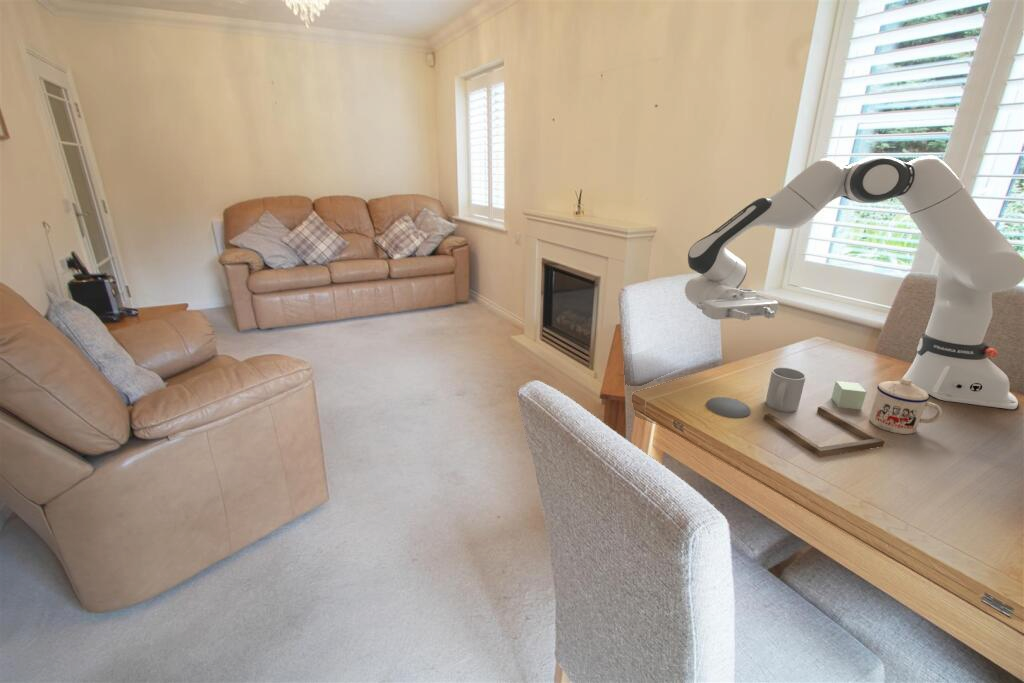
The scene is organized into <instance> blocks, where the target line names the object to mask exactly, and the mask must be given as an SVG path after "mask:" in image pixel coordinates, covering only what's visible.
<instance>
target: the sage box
mask: <svg viewBox="0 0 1024 683" xmlns="http://www.w3.org/2000/svg"><path fill="white" fill-rule="evenodd" d="M866 395H867V391H866V390H865V388H864V387H863V386H862V385H861V384H860V383H859V382H851V381H841V380H839V381H838V380H836V381H835V383H834V386H833V391H832V395H831V397H830V398H831V400H832V399H833V400H832V401H833V403H834V404H835V405H836V407H837V408H844V409H852V410H862V408H863V405H864V402H865V398H866Z"/></svg>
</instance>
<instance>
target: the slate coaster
mask: <svg viewBox="0 0 1024 683" xmlns="http://www.w3.org/2000/svg"><path fill="white" fill-rule="evenodd" d="M706 408H707V409H708V410H709V411H711V412H712V413H714V414H716V415H719V416H721V417H724V418H730V419H742V418H746V417H749V416H750V414H751V407H750V406H748V404H746V403H744V402H743V401H741V400H738V399H736V398H731V397H726V396H725V397H724V396H720V397H719V396H718V397H713V398H712V397H711V398H710V399H708V400H707V401H706Z"/></svg>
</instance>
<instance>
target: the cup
mask: <svg viewBox="0 0 1024 683" xmlns="http://www.w3.org/2000/svg"><path fill="white" fill-rule="evenodd" d="M806 377H807V376H806V374H805V373H804V372H802V371H800V370H797V369H794V368H789V367H782V366H781V367H774V368H772V370H771V375H770V378H769V379H770V380H769V383H768V389H767V394H766V398H765V402H766V403H765V404H766V405H767V406H768V407H770V408H771V409H773V410H776V411H779V412H782V413H783V412H784V413H792V412H795V411H797V410H799V407H800V403H801V399H802V394H803V390H804V386H805V382H806Z"/></svg>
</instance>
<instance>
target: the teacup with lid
mask: <svg viewBox="0 0 1024 683" xmlns="http://www.w3.org/2000/svg"><path fill="white" fill-rule="evenodd" d="M929 395H930V394H928V393H927V392H926V391H924V390H923V389H921V388H919V387H917V386H915V385H914V384H912V381H911V380H910V379H907V378H903V377H902V378H900V379H899V380H894V381H891V380H888V381H882V382H880V383H878V385H877V391H876V395H875V398H874V402H873V404H872V408H871V411H870V414H869V418H868V419H869V422H870V423H871V424H873V425H874V426H876V427H878V428H879V429H881V430H884V431H887V432H891V433H894V434H901V435H911V434H914V433H916V432H917V430H918V427H919V424H920V423H921V424H932V423H935V422H936V421H938V420H940V418H942V415H943V410H942V407H941V406H939V405H938V404H937V403H933V402H930V401H929V400H930V396H929ZM925 406H926V407H929V408H930V407H931V408H934V409H936V411H937V413H936V414H935V415H934V416H932V417H930V418H922V415H923V412H924V409H925Z"/></svg>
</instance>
